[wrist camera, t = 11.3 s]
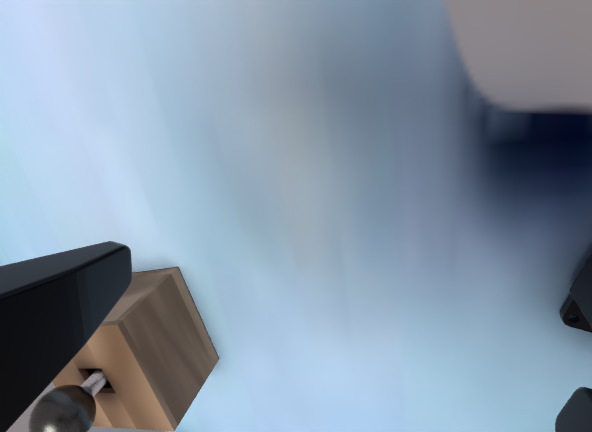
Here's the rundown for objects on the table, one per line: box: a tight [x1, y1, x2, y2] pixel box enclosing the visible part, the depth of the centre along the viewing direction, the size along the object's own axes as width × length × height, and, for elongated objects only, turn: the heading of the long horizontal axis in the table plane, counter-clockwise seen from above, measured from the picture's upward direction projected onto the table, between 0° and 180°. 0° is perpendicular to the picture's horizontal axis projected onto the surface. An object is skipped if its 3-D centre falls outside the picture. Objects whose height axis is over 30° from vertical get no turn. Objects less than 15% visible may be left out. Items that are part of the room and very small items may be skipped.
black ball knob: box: [29, 368, 108, 432], centre depth 24 cm, size 6×6×9 cm
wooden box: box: [52, 267, 219, 431], centre depth 26 cm, size 8×8×6 cm
